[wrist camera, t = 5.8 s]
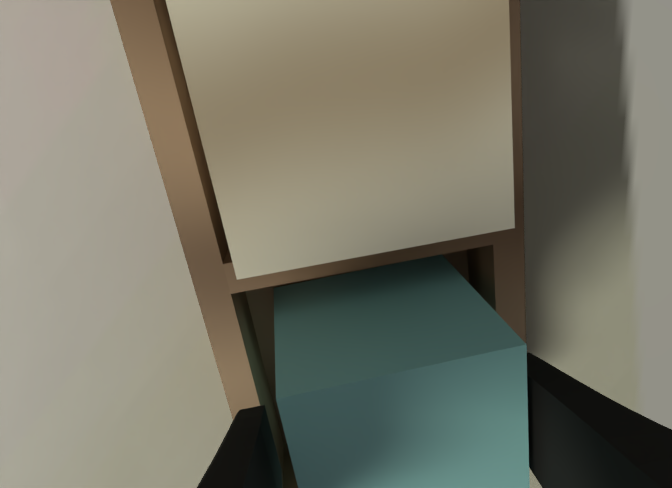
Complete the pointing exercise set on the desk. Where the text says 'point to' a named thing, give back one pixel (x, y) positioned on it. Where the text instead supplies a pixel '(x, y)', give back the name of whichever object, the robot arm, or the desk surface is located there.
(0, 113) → the desk surface
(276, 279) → the walnut puzzle board
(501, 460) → the teal block
